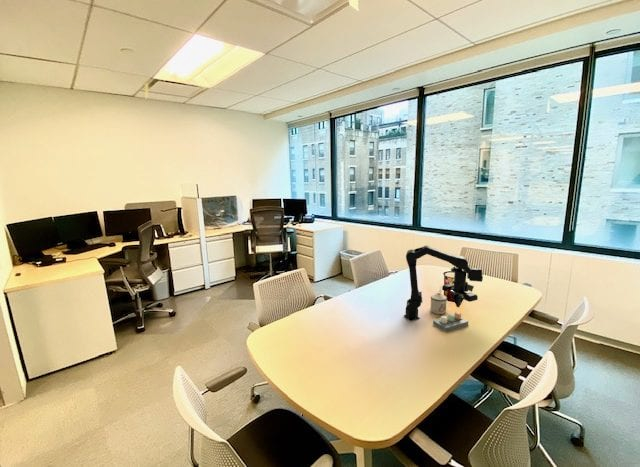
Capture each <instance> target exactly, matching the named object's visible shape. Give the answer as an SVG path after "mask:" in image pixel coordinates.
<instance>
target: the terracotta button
mask: <svg viewBox="0 0 640 467" xmlns="http://www.w3.org/2000/svg"><path fill="white" fill-rule="evenodd" d="M453 315H454V319H455V320H456V321H460V320H461V318H462V313H460V312H458V311H456V312H455V311H454V314H453Z"/></svg>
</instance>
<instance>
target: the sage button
mask: <svg viewBox="0 0 640 467" xmlns="http://www.w3.org/2000/svg"><path fill="white" fill-rule="evenodd" d="M454 315H455V314H452V313H448V314H447V316H448V320H447V321H448V322H450V323H453V322H454Z"/></svg>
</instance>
